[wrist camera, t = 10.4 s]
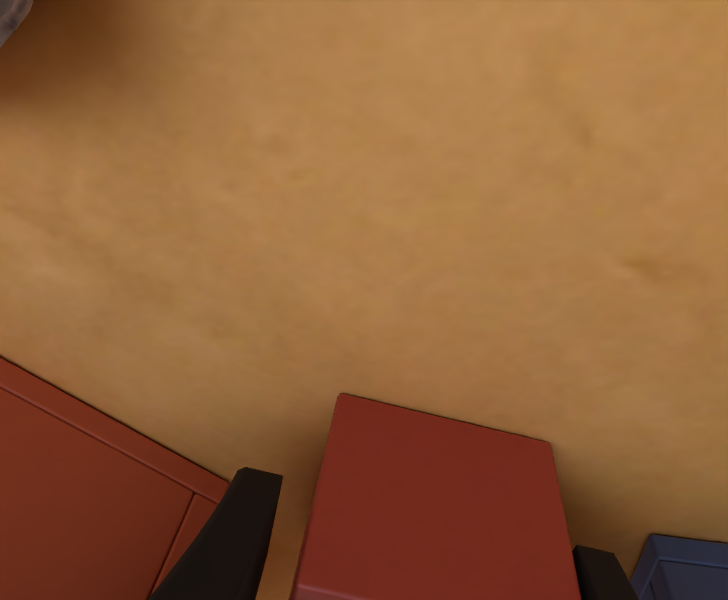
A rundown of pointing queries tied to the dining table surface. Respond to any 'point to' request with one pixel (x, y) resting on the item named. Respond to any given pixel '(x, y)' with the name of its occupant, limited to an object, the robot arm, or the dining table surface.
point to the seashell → (12, 16)
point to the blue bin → (681, 570)
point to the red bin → (89, 499)
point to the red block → (432, 513)
